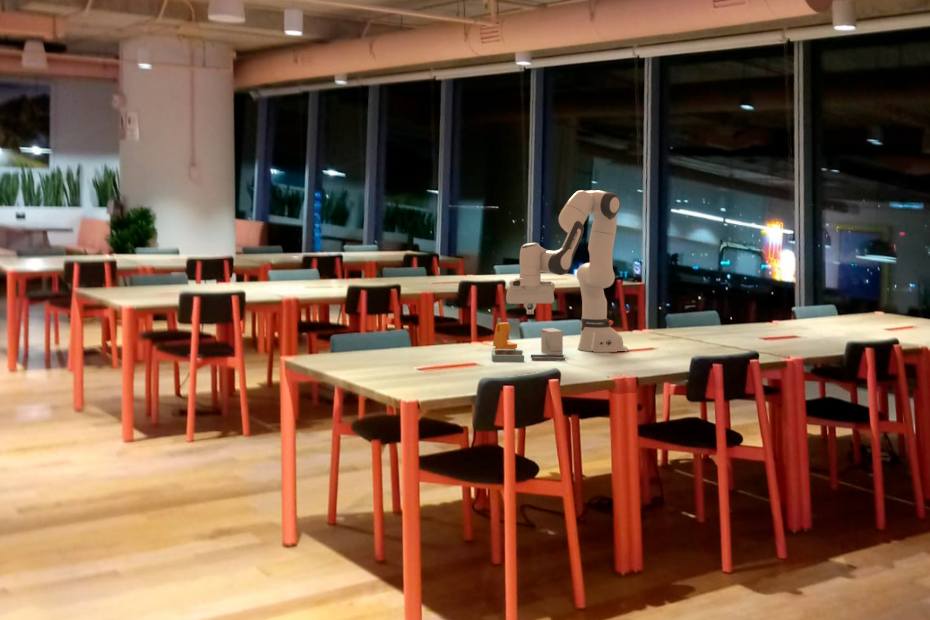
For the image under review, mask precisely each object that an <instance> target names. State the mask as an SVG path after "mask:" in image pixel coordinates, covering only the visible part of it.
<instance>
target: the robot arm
mask: <svg viewBox="0 0 930 620" xmlns="http://www.w3.org/2000/svg"><path fill="white" fill-rule="evenodd" d="M620 207H621V200H620V197H619V195H618V194H616V193H614V192H612V191H605V190H588V189H584V190H577V191H575V193H573V195H572V196H571V197H569V199H568V200H567V202H566V203H565V204H564V206H563V208H562V209H561V210H560V213H559V215H558V223H559V226H560V227H561V229H563V231H564V232H566V233H567V234H566V238H565V240H564V242H563V244H562V246H561V248H559V249H556V250H550V249H546V248H544V247H542V246H541V245H540V244H539V243H538V242H527V243H524V244H523V245H521V247H520V252H519V266H520V272H519V277H517V278H514V279H511V280H509V282H508V285H509V286H508V288H507V291H506V297H505V298H506V300H505V301H506V303H507V304H511V305H512V304H514V305H515V304H516V305H517V304H523V307H524V309H525V310H526V315H535V313H534V311H535V309H536V308H537V304H553V303H554V302H555V296H554V292H555V291H556V288H555V287H556V285H555V283H553V282H552V281H548V280H547V281H542V278H541V276H542V275H541V274H542V273H545V274H554V275H559V276H563V275H565V274H567V273H568V272H569V271H570V269H571V267H572V264H573V259H574V256H575V254H576V252H577V249H578V247H579V244H580V243H581V240H582V238H583V235H584V231H585V227H584V225H585V222H586V221H587V219H588V216H593V222H592V226H591V228H590V229H591V230H590V234H589V240H588V246H587V251H588V254H589V262H585V263H582V264H581V265H580V266H579V267H578V268H577V270H576V277H577V280H578V283H579V288H580V294H581V302H582V304H581V305H582V306H581V309H582V312H581V313H582V314H581V319H580V331H581V332H580V338H579V343H578V347H577V349H578V350H580V351H585V352H586V351H587V352H592V351H593V353H614V352H615V353H616V352H617V351H625V352H628V351H629V348H628V346H626V345H624V340H623V336H622V334H620V333H619V332H618V331H616V330H615V329H614V328H613V327H612V326H613V324H614V321H613V320H611V319H609V318H607V316H608V301H607V298H606V295H605V291H604V289H606V288H610V287H611V286H612V285H613V284H614V282H615V279H616V276H615V272H614V268H613V251H614V244H615V239H616V235H617V227H618V226H617V225H618V223H617V222H618V218H617V217H618V216H617V214H618V212H619V210H620ZM528 304H530V305H531V304H532V309H528ZM617 353H618V352H617Z"/></svg>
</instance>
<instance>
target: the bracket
mask: <svg viewBox="0 0 930 620" xmlns="http://www.w3.org/2000/svg"><path fill="white" fill-rule="evenodd" d="M510 332H511V325H510V323H509V322H508V321H507V322H497V323H496V325H495V330H494V335H493V341H492V346H493V347H495V349H515V350H516V349H517V348H518V344H517V343H515V342H512V341H509V340H508V338H507V337H508V335H509V334H510Z"/></svg>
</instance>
